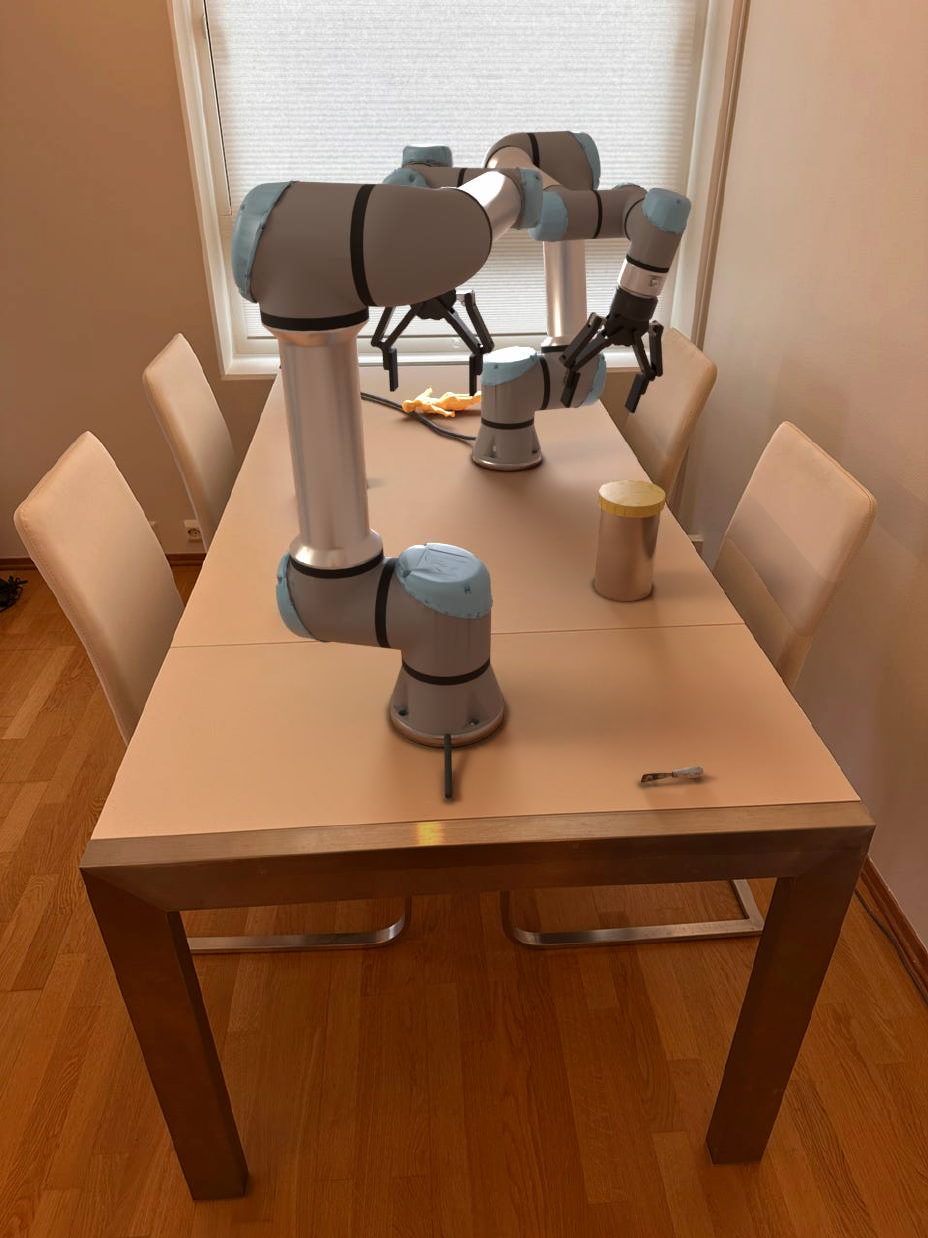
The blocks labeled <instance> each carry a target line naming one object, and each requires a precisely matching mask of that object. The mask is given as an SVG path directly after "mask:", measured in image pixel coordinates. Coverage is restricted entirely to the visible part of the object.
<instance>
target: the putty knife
mask: <svg viewBox="0 0 928 1238" xmlns="http://www.w3.org/2000/svg"><path fill="white" fill-rule="evenodd" d="M704 772H705V771H704V768H702V767H701V766H697V765H695V766H688V767H683V768H679V769H675V770H673V771H671V772H653V773H652V772H651V773H650V772H649V773H644V774H642V776H641V779H640V783H642V784H645V783H648V782H653V781H659V780H665V779H668V778H673V779H674V778H675V779H693V778H694V779H695V778H700V777H702V776H703V775H704Z"/></svg>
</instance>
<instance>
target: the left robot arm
mask: <svg viewBox="0 0 928 1238" xmlns="http://www.w3.org/2000/svg"><path fill="white" fill-rule="evenodd" d="M453 155H454V153H453V150H452V148H451V147H450V146H449V145H448V144H441V143H414V144H408V145H405V146H404V147H403V149H402V155H401V156H402V159H401V161H402V162H401V166H400V167H398V168H397V169H394V170H393V171H391V172H390V173H389V174H388V175H387V176H386V177H385V178H384V179H383V180H382V182H381V183H353V182H350V183H349V182H329V181H300V180H289V181H277V182H266V183H265V182H264V183H261V184H258V185H255V186H254V187H253V188H252V189H250V190H249V191H248V192H247V194H246V195H245V196H244V198H243V200H242V201H241V203H240V205H239V208H238V211H237V214H236V216H235V219H234V222H233V223H234V224H233V229H232V235H231V242H230V245H231V246H230V262H231V270H232V276H233V281H234V284H235V286H236V287H237V288H238V293H239V295H240V296H241V297H242V298H243V299H245V300H246V301H248V302H249V303H252V304H258V306H259V313H260V314H259V315H260V322H261V325H262V327H263V328H264V329H266V330H267V331H268V332H269V333H270V334H271V335H273V336H274V337H275V338H276V340H277V345H278V353H279V354H278V355H279V363H280V370H281V372H280V373H281V378H282V379H281V381H282V389H283V398H284V406H285V407H284V408H285V414H286V424H287V433H288V441H289V450H290V460H291V467H292V477H293V485H294V493H295V502H296V511H297V521H298V528H299V533H298V534H297V535H296V536H295V537H294V538H293V539H292V540H291V542H290V544H289V548H288V550H287V551H286V552H285V553H284V554H283V555H282V557H281V558H280V561H279V564H278V567H277V572H276V579H277V584H276V585H275V599H276V604H277V609H278V612H279V615H280V617H281V619H282V622H283V624H284V625H285V627H286V628H287V629H288V631H290V633H292V634H294V635H295V636H298V637H299V638H303V639H309V640H314V641H317V642H320V643H326V644H328V643H336V644H337V643H338V644H346V645H354V646H364V647H371V648H372V647H373V648H379V649H380V648H381V649H390V650H398V651H400V655H401V667H400V669H399V672H398V675H397V678H396V681H395V684H394V687H393V690H392V693H391V695H390V699H389V706H390V718H391V721H392V724H393V725H394V727H395V728H396V729H397V731H398V732H399V733H400V734H402V735H403V736H404V737H406V738H407V739H409V740H411V741H413V742H415V743H417V744H420V745H421V744H422V745H425V746H430V747H437V748H443V753H444V756H443V759H444V797H445V799H448V800H450V799H453V755H452V748H454V747H455V748H457V747H463V746H467V745H471V744H473V743H476V742H480V741H481V740H483V739H485V738H486V737H488V736H489V735H491V734H492V733H493V732H494V731H495V730H496V729H498V727H499V726H500V724H501V722H502V720H503V717H504V702H505V701H504V696H503V695H504V694H503V693H502V690H501V687H500V685H499V682H498V679H497V677H496V674H495V672H494V668H493V666H492V664H491V654H492V653H491V651H492V649H491V648H492V647H491V645H492V643H491V642H492V641H491V640H492V608H493V606H494V605H493V604H494V598H493V593H492V584H491V581H492V580H491V574H490V571H489V569H488V567H487V565H486V564H485V563H484V562H483V561H482V560H480V559H479V557H478V556H477V555H476V554H474V553H472V552H470V551H468V550H466V549H465V548H462V547H459V546H455V545H451V544H447V543H439V542H427V543H424V545H420V544H414V545H412V546H410V547H407V548H405V549H404V550H403V551H401V553H400V554H399V555H398V557H392V556H385V553H384V542H383V538H382V537H381V535H380V534H379V533H378V532H376V531H375V530H374V529H372V528H371V527H370V526H371V525H370V513H369V511H370V510H369V499H368V498H369V496H368V482H367V468H366V453H365V439H364V438H365V437H364V425H363V424H364V423H363V421H364V420H363V408H362V395H361V392H362V391H361V382H360V381H361V380H360V378H361V377H360V366H359V365H360V364H359V350H358V349H359V347H358V335H359V333H360V332H361V331H362V330H363V329H364V328H365V326H366V325H368V323H369V322H370V307H371V308H384V309H383V311H382V314H381V316H380V319H379V321H378V324H377V325H376V328H375V330H374V333H373V335H372V337H371V339H370V342H369V344H370V346H371V347H372V348H378V349H379V350H380V351H381V353H382V368H383V370H384V371H388V380H389V381H388V382H389V392H392V393H394V392H396V390H397V389H398V388H399V366H398V348H395V347H393V345H394V344H395V343H396V342H397V341H398V339H399V338H400V337H401V335H402V334H403V333H405V331H406V330H407V328H408V327H409V325H410V324H411V323H412V322H413V320H414V319H415V318H416V317H417V318H419V319H420V320H421V321H425V320H433V321H441V320H443V319H444V320H445V322H446V323H447V324H448V325H450V326H451V327H452V329H453V331H455V332H456V334H457V335H458V337H459V338H460V339H461V340H462V342H463V343H464V344H465V346H466V347H467V348H468V349H469V350H470V352H471V353H470V355H469V356H468V394H469V397H474V395H475V394H476V392H477V391H478V376H480V377H481V374H482V372H483V360H484V355H485V354H491V353H492V352H493V350H494V348H495V345H496V344H495V342H494V340H493V338H492V336H491V333H490V332H489V330H488V329H489V328H488V327H487V325H486V323H485V321H484V318H483V315H482V314H481V312H480V310H479V307H478V305H477V301H476V292H475V290H473V289H472V288H471V289H468V290H467V291H457V288H458V287H460V286H462V285H463V284H465V283H466V282H468V281H469V280H471V279H472V278H473V277H474V276H476V274H477V273H478V272H479V271H480V270H481V269H482V268H483V267H484V266H485V264H486V262H487V260H488V259H489V257H490V255H491V252H492V248H493V245H494V244H495V243H496V242H497V241H498V240H499V239H500V238H501V237H502V236H504V234H505V233H506V232H507V231H508V230H511V229H512V230H516V231H522V230H528V229H533V228H536V227H537V226H538V225H539V223H540V220H541V215H542V207H543V179H542V175H541V173H540V172H539V171H538V170H536V169H523V168H521V167H515V168H482V167H459V166H457V167H456V166H454V156H453ZM457 301H459V303H460V304H461V306H462V307H465V311H466V313H467V316H468V318H469V321H470V323H471V325H472V326H473V329H474V331H475V333H476V335H477V337H478V338H477V337H476V336H475V334H474V333H473V332H472V331H471V330H470V328H469V327H468V325H467V324H466V323H465V322H464V320H463V319H462V318H461V317H460V315H459V312H458V311H457V310H456V308H455V307H454V305H455V304H456V302H457ZM406 306H409V307H410V308H409V310H408V311H407V312H406V314H405V315H404V316H403V318H402V319H401V320H400V322H399V323H398V324H397V325H396V327H395V328H394V329H393V330H392V332H391V333H390V334H389V336H388V337H387V338H386V339H384V337H385V334H386V332H387V329H388V327H389V324H390V322H391V320H392V318H393V316H394V313H395V311H396V309H397V308H399V307H406ZM360 391H361V392H360Z"/></svg>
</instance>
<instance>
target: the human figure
mask: <svg viewBox="0 0 928 1238" xmlns="http://www.w3.org/2000/svg"><path fill="white" fill-rule="evenodd" d="M424 391H425V392H423V393H422V394H420V395H418V396H416V398H415V399H414V400H404V401H403V402H402V404H401V405H402V407H403V409H402V411H404V412H405V413H409V412H412V411H415V412H417V408H418V409H420V410H421V411H423V412H424V413H427V414H439V415H443V416H444V417H449V416H450V417H451V418H452V417H453V418H454V417H455V416H456V414H455V411H462V410H464V409H467V408H469V407H471V406H473V405H476V404H478V403H481V390H480V391H478V390H477V392H476V394H475V395H474V397H469V393H468V394H460V393H457V394H455V393H453V392H446V393H444V394H443V395H442V396H441V397H440V398H434V397H429V396H430V395H432V394H433V392H434V391H433V389H432V385H429V387H428V389H424ZM450 410H452V411H450Z"/></svg>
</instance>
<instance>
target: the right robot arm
mask: <svg viewBox="0 0 928 1238" xmlns="http://www.w3.org/2000/svg"><path fill="white" fill-rule="evenodd" d="M515 167H521V168H523V169H536V170H538V171H539V172H540V173H541V175H542V179H543V207H542V215H541V220H540V223H539V225H538V226H537V227H536V228H533V229H527V231H528V235H529V237H530V238H531V239H532V240H533V241H535V242H542V248H543V272H544V290H545V312H546V313H545V315H546V316H545V317H546V334H547V335H546V339H544V341H543V342H542V343H541V344H540V354H538V353H537V351H536V350H535V349H534V348H531V347H528V346H521V347H519V346H510V347H505V348H501V349H498V350H494V351H491V352H490V353H488V355H486V356H485V357H484V358H483V372H482V374H481V375H480V378H479V382H480V392H481V402H480V425H479V428H478V431H477V434H476V436H474V435H473V436H472V435H465V434H460V433H456V432H453V431H450V430H447V429H444V428H442V427H439V426H437V425H436V424H435V423H434V422H432V421H431V420H430V419H428V418H426V417H425V416H424V415H421V414H420V413H418V412H417V411H412V412H408V413H409V414H410V415H412V416H414V417H416V418H417V419H419V420H420V421H422V422H424V423H425V424H426V425H428V426H430V427H431V428H432V429H433V430H435V431H437V432H439V433H441V434H444V435H445V436H446V435H447V436H449V437H452V438H456V439H460V440H465V441H474V444H473V447H472V456H471V457H472V461H473V462H474V463H475V464H477V465H478V466H479V467H480V466H481V467H483V468H486V469H489V470H494V471H508V472H509V471H510V472H511V471H521V470H526V469H529V468H532V467H535V466H536V465H538V464H539V463H540V462H541V460H542V447H541V443H540V441H539V437H538V434H537V430H536V427H535V426H536V425H535V413H536V412H539V411H540V412H541V411H551V410H563V409H564V410H565V409H579V408H583V407H588V406H589V407H590V406H592V405H594V404H596V403H597V402H598V401H599V400H600V399H601V396H602V394H603V392H604V390H605V385H606V381H607V370H608V369H607V367H608V366H607V360H606V356H605V354H604V352H602V351H603V350H604V349H606V348H607V349H608V348H610V347H611V346H612V345H613V346H615V347H616V346H617V347H620V346H623V347H626V348H632V351H633V353H634V356H635V359H636V361H637V364H638V368H639V369H640V372H639V373H637V372H636V374H635V376H634V379H633V382H632V385H631V387H630V390H629V392H628V395H627V398H626V401H625V404H624V408H626V410H628V412H629V413H630V414H635V413H636V411H637V408H638V405H639V403H640V400H641V398H642V396H644V395H645V394H646V392H647V390H648V387H649V384H650V382H654V381H655V380H656V378H661V377H663V375H664V364H663V346H662V345H663V344H662V337H663V333H664V329H665V327H664V325H663V324H662V323H660V322H659V321H658V320H656V319H653V317H654V314H655V311H656V309H657V306H658V303H659V299H658V297H659V296H661V294H662V291H663V288H664V286H665V282H666V281H667V279H668V275H669V273H670V272H669V271H670V270H671V267H672V264H673V261H674V259H675V256H676V253H677V251H678V248H679V246H680V243H681V241H682V238H683V236H684V233H685V231H686V229H687V226H688V220H689V216H690V214H691V210H692V201H691V199H690V198H689V197H687V196H685V195H683V194H680V193H679V192H676V191H674V190H670V189H666V188H662V187H652V188H649V190H647V189H646V188H645V187H643V186H640V185H639V184H635V183H633V182H629V181H628V182H626V181H625V182H620V183H618V184H616V185H615V186H613V187H611V188H609V189H599V188H600V187H599V186H600V183H601V182H600V178H601V175H602V165H601V158H600V154H599V149H598V147H597V144H596V142H595V140H594V139H593V138H592V136H591V135H590V134H589V133H587V132H584V131H571V130H568V129H567V130H558V131H557V130H556V131H555V130H554V131H533V132H528V131H527V132H525V131H524V132H523V131H521V132H520V131H519V132H513V133H510V134H506V135H504V136H503V137H500V138H499V139H498V140H496V141H495V142H494V143H492V145H491V146H490V147H489V148H488V149H487V150H486V153H485V155H484V157H483V160H482V163H481V168H515ZM622 238H623V239H627V240H628V241H630V242H629V246H628V249H627V251H626V255H625V258H624V261H623V264H622V267H621V269H620V273H619V276H618V277H617V278H618V279H617V283H618V285H617V286H616V287H615V288H614V291H613V294H612V297H611V300H610V303H609V310H608V313H607V314H606V315H605V316H602V315H599V314H597V312H595V311H592V312H590V314H589V315H588V300H587V299H588V298H587V270H586V244H585V243H586V242H585V241H586V240H603V239H606V240H607V239H622ZM652 319H653V320H652ZM651 320H652V321H651ZM650 321H651V322H650ZM602 328H603V329H602ZM598 331H599V332H598ZM646 334H648V346H649V358H648V355H647V353H646V348H645V344H644V341H643V338H642V337H644V335H646ZM595 336H596V337H595ZM360 392H361V397H362V396H363V397H365V398H369V399H372V400H376V401H379V402H383V403H385V404H388V405H390V406H393V407H396V408H398V409H401V410H403V407H402V404H401V403H398V402H396V401H394V400H391V399H387V398H383V396H382V397H381V396H378V395H375V394H371V393H368V392H365V391H362V390H360Z"/></svg>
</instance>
